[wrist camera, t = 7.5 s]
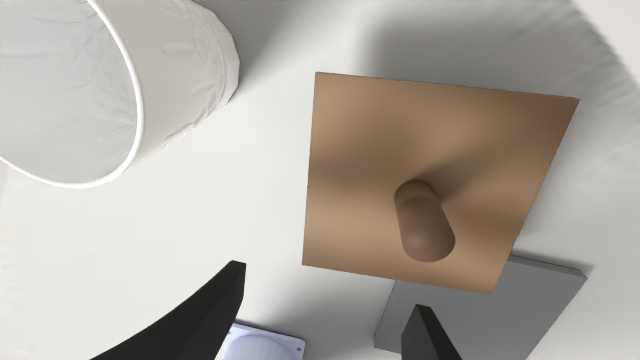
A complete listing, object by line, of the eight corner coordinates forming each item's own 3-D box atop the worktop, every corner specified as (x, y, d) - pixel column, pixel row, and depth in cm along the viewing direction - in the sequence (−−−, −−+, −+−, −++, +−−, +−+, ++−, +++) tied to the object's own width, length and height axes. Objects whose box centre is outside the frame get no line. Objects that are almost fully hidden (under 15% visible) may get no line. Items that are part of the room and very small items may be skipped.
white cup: (268, 26, 17) (163, 14, 8) (228, 142, 21) (125, 220, 12) (140, -40, 17) (-120, -130, 8) (122, 90, 20) (-73, 131, 11)
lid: (487, 287, 19) (521, 355, 15) (303, 258, 20) (288, 315, 16) (571, 97, 14) (659, 122, 10) (316, 71, 15) (298, 84, 11)
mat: (506, 370, 27) (510, 379, 26) (373, 339, 27) (374, 347, 26) (580, 270, 21) (587, 278, 21) (414, 234, 22) (415, 240, 21)
